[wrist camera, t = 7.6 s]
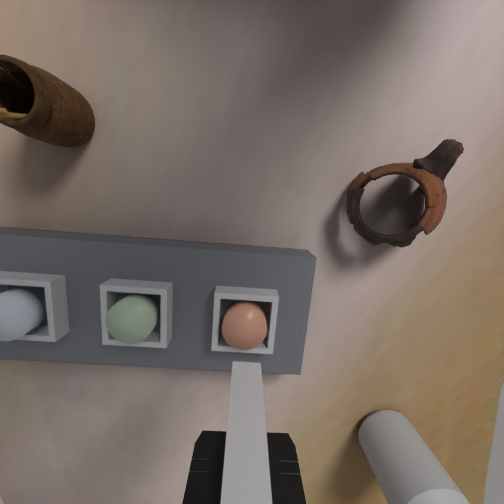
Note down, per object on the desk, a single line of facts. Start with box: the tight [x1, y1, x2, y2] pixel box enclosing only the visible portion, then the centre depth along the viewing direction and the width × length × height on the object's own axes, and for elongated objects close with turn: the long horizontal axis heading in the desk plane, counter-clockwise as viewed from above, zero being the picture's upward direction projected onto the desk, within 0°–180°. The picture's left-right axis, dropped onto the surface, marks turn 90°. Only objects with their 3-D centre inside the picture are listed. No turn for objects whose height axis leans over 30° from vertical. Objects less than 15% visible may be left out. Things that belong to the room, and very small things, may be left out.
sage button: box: [106, 293, 160, 344], centre depth 25 cm, size 4×4×2 cm
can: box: [358, 410, 469, 504], centre depth 30 cm, size 8×8×12 cm
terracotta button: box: [222, 300, 267, 350], centre depth 25 cm, size 4×4×2 cm
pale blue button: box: [0, 289, 44, 341], centre depth 23 cm, size 4×4×2 cm
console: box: [0, 227, 316, 375], centre depth 28 cm, size 14×36×6 cm, turn 85°
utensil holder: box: [0, 55, 94, 147], centre depth 20 cm, size 6×6×12 cm
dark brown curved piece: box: [346, 139, 464, 247], centre depth 26 cm, size 12×10×8 cm
